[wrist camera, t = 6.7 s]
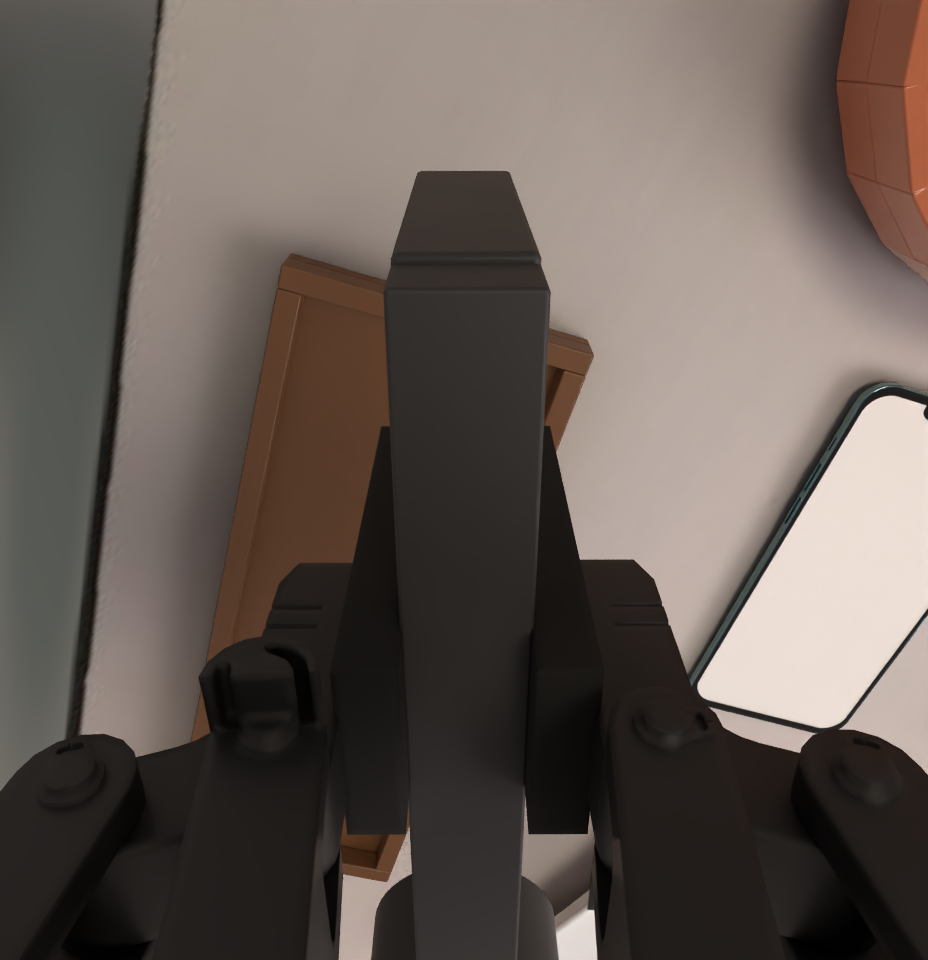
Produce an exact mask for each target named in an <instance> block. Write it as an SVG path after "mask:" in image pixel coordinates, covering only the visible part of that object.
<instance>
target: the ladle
mask: <svg viewBox="0 0 928 960" xmlns="http://www.w3.org/2000/svg"><path fill="white" fill-rule="evenodd" d="M550 294H551V292H550V289H549V286H548V284H547V281H546V278H545V275H544V272H543V270H542V267H541V257H540V254H539V251H538V248H537V246H536V243H535V240H534V238H533V235H532V232H531V229H530V227H529V224H528V221H527V219H526V216H525V213H524V210H523V208H522V205H521V202H520V200H519V197H518V194H517V192H516V189H515V186H514V183H513V181H512V178H511V175H510V173H509V172H507V171H420V172H418V173H417V176H416V179H415V183H414V186H413V189H412V192H411V195H410V199H409V202H408V205H407V208H406V212H405V215H404V218H403V221H402V225H401V228H400V231H399V234H398V238H397V241H396V244H395V247H394V251H393V254H392V257H391V268H390V271H389V275H388V278H387V281H386V285H385V288H384V291H383V300H384V320H385V340H386V360H387V380H388V400H389V420H390V441H391V461H392V481H393V501H394V521H395V541H396V561H397V581H398V601H399V621H400V629H401V631H402V651H403V671H404V691H405V710H406V730H407V750H408V770H409V801H408V802H409V822H410V842H411V862H412V874H411V875H409V876H407V877H405V878H404V879H402V880H400V881H399V882H398V883H396V884H395V885H394V886H392V887H391V888H390V889H389V890H388V892H387V893H386V894H385V895H384V897H383V898H382V900H381V901H380V903H379V906H378V908H377V911H376V915H375V925H374V936H373V946H372V957H371V960H559V956H558V947H557V938H556V929H555V919H554V913H553V908H552V906H551V904H550V902H549V900H548V898H547V897H546V895H545V894H544V892H543V891H542V890H541V889H540V888H539V887H538V886H537V885H535V884H534V883H533V882H531V881H530V880H529V879H527V878H525V877H523V876H522V875H521V870H522V850H523V830H524V810H525V772H526V751H527V730H528V709H529V688H530V667H531V646H532V630H533V628H534V612H535V592H536V572H537V552H538V532H539V513H540V493H541V473H542V453H543V433H544V413H545V394H546V374H547V354H548V334H549V314H550Z"/></svg>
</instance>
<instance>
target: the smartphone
mask: <svg viewBox="0 0 928 960" xmlns="http://www.w3.org/2000/svg"><path fill="white" fill-rule="evenodd" d="M927 616H928V393H927V392H924V391H921V390H918V389H915V388H911V387H908V386H905V385H902V384H899V383H895V382H884V383H880V384H877V385H874V386H872V387H870V388H868V389H867V390H865V391H864V392H863V393H862V394H861V395H860V396H859V397H858V398H857V400H856V401H855V403H854V404H853V406H852V408H851V409H850V411H849V413H848V414H847V416H846V418H845V419H844V421H843V423H842V424H841V426H840V428H839V429H838V431H837V433H836V434H835V436H834V438H833V439H832V441H831V443H830V445H829V446H828V448H827V450H826V451H825V453H824V455H823V456H822V458H821V460H820V461H819V463H818V465H817V466H816V468H815V470H814V471H813V473H812V475H811V476H810V478H809V480H808V481H807V483H806V485H805V486H804V488H803V490H802V491H801V493H800V495H799V496H798V498H797V500H796V501H795V503H794V505H793V506H792V508H791V510H790V511H789V513H788V515H787V516H786V518H785V520H784V521H783V523H782V525H781V527H780V528H779V530H778V532H777V533H776V535H775V537H774V538H773V540H772V542H771V543H770V545H769V547H768V548H767V550H766V552H765V553H764V555H763V557H762V559H761V560H760V562H759V564H758V565H757V567H756V569H755V570H754V572H753V574H752V575H751V577H750V579H749V580H748V582H747V584H746V585H745V587H744V589H743V590H742V592H741V594H740V595H739V597H738V599H737V600H736V602H735V604H734V605H733V607H732V609H731V611H730V612H729V614H728V616H727V617H726V619H725V621H724V622H723V624H722V626H721V627H720V629H719V631H718V632H717V634H716V636H715V637H714V639H713V641H712V642H711V644H710V646H709V647H708V649H707V651H706V652H705V654H704V656H703V657H702V659H701V661H700V662H699V664H698V666H697V668H696V669H695V671H694V673H693V674H692V676H691V678H690V680H689V681H690V684H691V687H692V689H693V692H694V695H695V697H696V698H697V699H699V700H701V701H702V702H703V703H704V704H705V705H707V706H708V707H712V708H716V709H720V710H724V711H728V712H732V713H736V714H740V715H744V716H748V717H752V718H756V719H760V720H764V721H768V722H772V723H776V724H780V725H784V726H788V727H792V728H796V729H800V730H804V731H808V732H812V733H816V734H818V733H821V732H824V731H828V730H831V729H837V730H839V729H840V728H842V727H843V726H844V725H845V724H846V723H847V722H848V721H849V720H850V718H851V717H852V716H853V714H854V713H855V712H856V710H857V709H858V708H859V706H860V705H861V704H862V702H863V701H864V700H865V698H866V697H867V696H868V694H869V693H870V692H871V690H872V689H873V688H874V686H875V685H876V684H877V682H878V681H879V680H880V678H881V677H882V676H883V675H884V673H885V672H886V671H887V669H888V668H889V667H890V665H891V664H892V663H893V661H894V660H895V659H896V657H897V656H898V655H899V653H900V652H901V651H902V649H903V648H904V647H905V645H906V644H907V643H908V641H909V640H910V639H911V637H912V636H913V635H914V633H915V632H916V631H917V629H918V628H919V627H920V625H921V624H922V623H923V621H924V620H925V619H926V617H927Z"/></svg>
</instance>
